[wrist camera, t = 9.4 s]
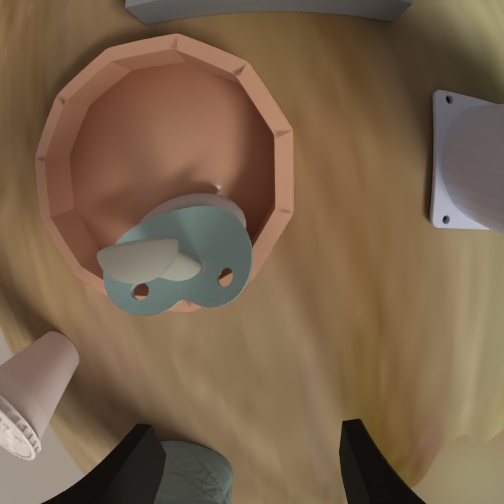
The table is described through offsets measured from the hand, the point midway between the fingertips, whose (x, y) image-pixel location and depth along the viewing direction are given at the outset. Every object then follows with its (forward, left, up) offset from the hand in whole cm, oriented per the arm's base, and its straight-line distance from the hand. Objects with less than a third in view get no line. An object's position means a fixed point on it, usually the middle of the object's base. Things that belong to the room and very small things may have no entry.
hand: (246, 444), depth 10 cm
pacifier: (+3, -5, -7) cm, 9 cm away
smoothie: (+16, +4, -10) cm, 19 cm away
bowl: (+5, -9, -9) cm, 14 cm away
